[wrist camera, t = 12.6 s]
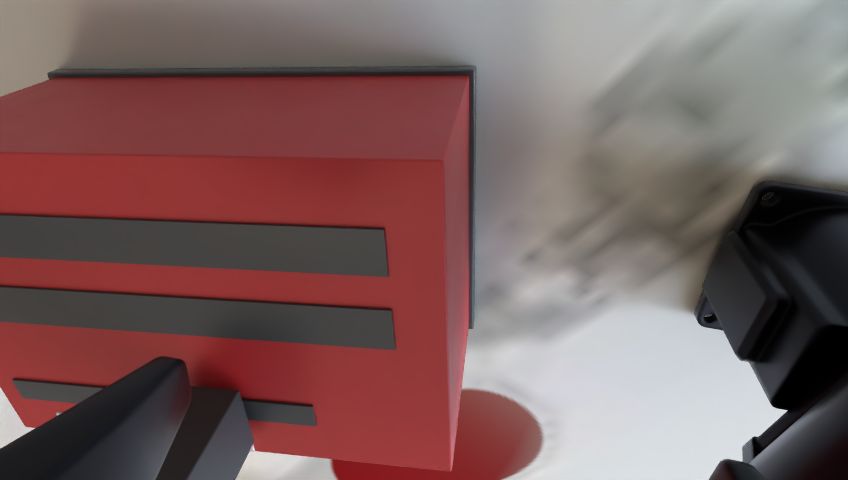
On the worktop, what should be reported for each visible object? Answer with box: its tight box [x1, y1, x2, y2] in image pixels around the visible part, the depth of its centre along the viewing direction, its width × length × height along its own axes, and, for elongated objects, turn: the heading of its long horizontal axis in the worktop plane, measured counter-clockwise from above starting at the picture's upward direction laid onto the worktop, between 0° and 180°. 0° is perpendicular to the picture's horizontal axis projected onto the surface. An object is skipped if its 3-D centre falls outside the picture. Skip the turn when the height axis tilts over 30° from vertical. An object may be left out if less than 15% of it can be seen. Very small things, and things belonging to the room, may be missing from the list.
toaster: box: [0, 66, 476, 471], centre depth 19 cm, size 16×11×8 cm
